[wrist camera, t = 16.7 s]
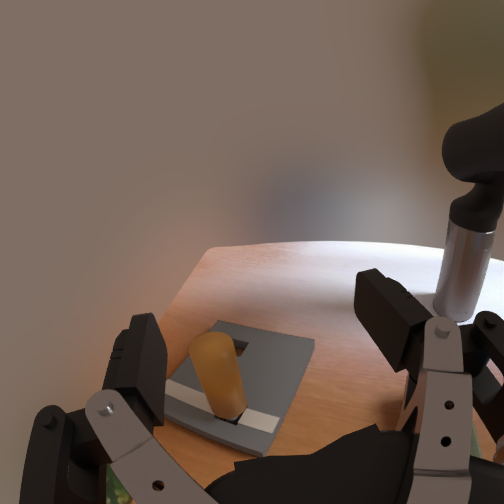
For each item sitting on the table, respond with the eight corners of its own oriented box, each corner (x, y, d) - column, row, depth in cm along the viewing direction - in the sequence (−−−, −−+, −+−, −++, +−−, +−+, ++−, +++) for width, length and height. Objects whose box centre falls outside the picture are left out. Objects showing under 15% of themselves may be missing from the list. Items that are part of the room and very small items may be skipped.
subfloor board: (220, 328, 49) (218, 319, 49) (314, 348, 42) (314, 338, 41) (152, 411, 34) (146, 403, 33) (263, 458, 26) (262, 452, 25)
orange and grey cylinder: (226, 402, 35) (203, 327, 29) (256, 412, 33) (241, 337, 27) (211, 426, 31) (179, 355, 25) (241, 438, 29) (219, 368, 23)
